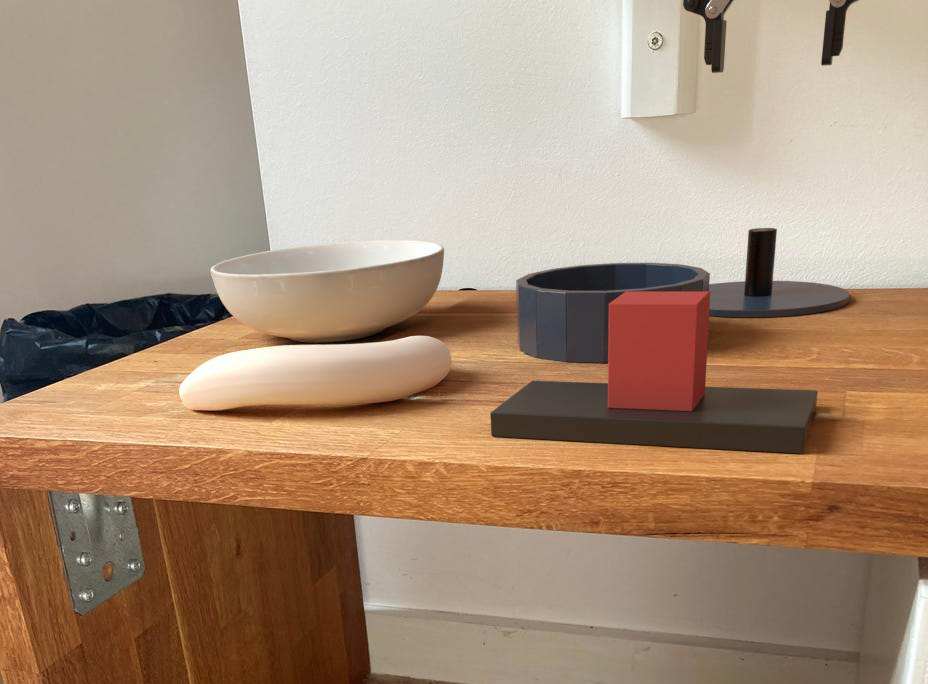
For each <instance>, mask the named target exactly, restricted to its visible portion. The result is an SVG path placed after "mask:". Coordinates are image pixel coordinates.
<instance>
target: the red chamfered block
mask: <svg viewBox="0 0 928 684" xmlns="http://www.w3.org/2000/svg"><path fill="white" fill-rule="evenodd" d="M709 308H710V292H655V291H626V292H625V293H623V294H622V295H620V296H619V297H618V298H616V299H615V300H613V301H612V302H611V303H609V340H608V364H607V383H608V408H615V409H639V410H662V411H685V412H692V411H693V410H694V409H695V407H696V406H697V405H698V403H699V402H700V400H701V399H702V397H703V396H704V394H705V387H706V382H707V381H706V380H707V361H708V344H709V323H710V316H709Z"/></svg>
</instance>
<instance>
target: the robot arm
mask: <svg viewBox="0 0 928 684" xmlns="http://www.w3.org/2000/svg"><path fill="white" fill-rule="evenodd" d="M682 1H683V2H682V6H683V8H684V10H685V11H686V12H689V13H692V14H695V15H698V16H700V17H702V18H703V20H704V22H705V28H704V29H705V31H704V51H703V60H704V63H705V66H710V67H711V69H710V70H711V73H712V74H719V73H724V70H725V56H726V40H727V39H726V37H727V20H725V15H726V13H727V12H728V10H729V9H730V7H731V6H732V4H733V3H734V1H735V0H682ZM858 1H860V0H828V2H829V5H828V6H829V7H828V10H826V11H825V19H824V28H823V29H824V31H823V40H822V53H821V62H820V65H821V66H823V67H824V66H833V60H834V59H833V58H834V57H840V55H841V52H843V48H844V38H845V29H846V18H847V12H848V10H849V8H850V7H851V6H852V5H854V4H855V3H857V2H858Z"/></svg>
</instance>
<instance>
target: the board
mask: <svg viewBox="0 0 928 684" xmlns="http://www.w3.org/2000/svg"><path fill="white" fill-rule="evenodd" d="M818 393H819V391H818V390H815V389H789V388H760V387H759V388H758V387H757V388H756V387H731V386H730V387H728V386H705V394H704V396H703V397H702V399H701V400H700V402H699V403H698V405H697V406H696V407H695V409H694V410H693V411H692V412H685V411H662V410H639V409H615V408H608V382H583V381H581V382H579V381H555V380H554V381H552V380H549V381H548V380H531V381H530V382H528V383H527V384H526V385H524V386H523V387H522V388H521V389H519V390H518V391H516V393H514V394H512V395H511V396H510V397H509V398H507V399H506V400H505V401H504V402H502V403H501V404H500V405H498V406H497V407H496V408H495V409H493V410H492V411H491V412H490V435H491V437H493V438H496V437H497V438H512V439H528V440H529V439H531V440H550V441H567V442H568V441H570V442H584V443H602V444H622V445H637V446H638V445H639V446H658V447H675V448H694V449H711V450H712V449H713V450H729V451H730V450H731V451H745V452H748V451H749V452H766V453H782V454H798V455H799V454H801V455H802V454H803V453H804V450H805V447H806V444H807V440H808V437H809V435H810V432H811V429H812V426H813V423H814V419H815V417H816V414H817V413H816V410H817V405H818Z"/></svg>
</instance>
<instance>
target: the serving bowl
mask: <svg viewBox="0 0 928 684" xmlns="http://www.w3.org/2000/svg"><path fill="white" fill-rule="evenodd" d="M444 257H445V248H444V246H442V244H439V243H436V242H432V241H424V240H411V239H374V240H373V239H372V240H358V241H357V240H356V241H344V242H342V241H341V242H331V243H329V242H328V243H320V244H309V245H300V246H293V247H285V248H279V249H273V250H266V251H260V252H255V253H250V254H246V255H241V256H238V257H237V256H236V257H233V258H229V259H226V260H223V261H220V262H218V263H216V264H214V265H213V266H212V267H211V268H210V269H209V270H210V275H211V278H212V282H213V284H214V287H215V290H216V292H217V293H216V294H217V295H218V297H219V299H220V301H221V303H222V305H223V306H224V307H225V309H226V310H227V311H228V312H229V314H231V316H232V317H234V318H235V319H236V320H237V321H238V322H240V323H241V324H243V325H244V326H245V327H247V328H248V329H251V330H253V331H255V332H259V333H262V334H265V335H270V336H273V337H280V338H288V339H289V340H292V341H294V342H298V343H299V342H300V343H312V344H313V343H314V344H317V343H318V344H319V343H320V344H321V343H335V342H344V341H345V342H346V341H350V340H351V341H352V340H358V339H362V338H368V337H371V336H374V335H377V334H380V333H381V332H383V331H384V330H385V329H388V328H390V327H394V326H396V325H398V324H401V323H402V322H405V321H406V320H409V319H410V318H412V317H414V316H415V315H417V314H419V312H421V311H422V310H423V309H424V308H425V307H426V306H427V305H428V304H429V302H431V300H432V298H433V297H434V295H435V293H436V292H437V289H438V288H439V285H440V281H441V279H442V274H443V269H444V259H445V258H444Z"/></svg>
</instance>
